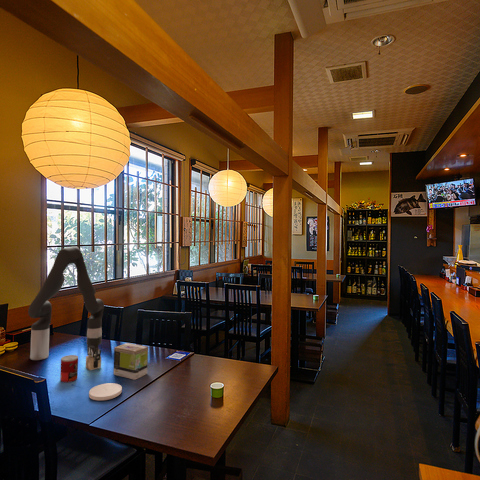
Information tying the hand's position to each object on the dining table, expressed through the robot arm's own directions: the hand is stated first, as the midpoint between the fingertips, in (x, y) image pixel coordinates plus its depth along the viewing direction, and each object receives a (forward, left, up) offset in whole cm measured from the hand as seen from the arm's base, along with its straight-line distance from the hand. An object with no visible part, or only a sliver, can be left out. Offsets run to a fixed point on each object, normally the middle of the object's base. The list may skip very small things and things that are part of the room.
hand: (93, 365), depth 181 cm
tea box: (+22, +11, -1) cm, 25 cm away
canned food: (+8, -15, -1) cm, 17 cm away
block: (0, 0, -1) cm, 1 cm away
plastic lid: (+36, -8, -1) cm, 37 cm away
